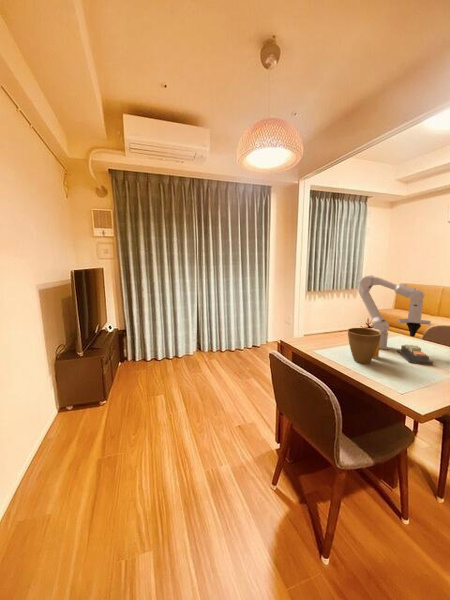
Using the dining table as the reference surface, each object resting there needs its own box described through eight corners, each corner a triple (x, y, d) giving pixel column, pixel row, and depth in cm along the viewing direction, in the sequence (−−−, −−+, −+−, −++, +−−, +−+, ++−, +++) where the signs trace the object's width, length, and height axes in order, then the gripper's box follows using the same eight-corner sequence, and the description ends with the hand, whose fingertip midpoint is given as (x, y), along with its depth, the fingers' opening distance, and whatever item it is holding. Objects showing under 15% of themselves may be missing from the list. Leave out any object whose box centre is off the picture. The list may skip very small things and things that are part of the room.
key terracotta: (415, 359, 124) (416, 353, 124) (412, 356, 128) (413, 351, 128) (425, 360, 123) (426, 354, 123) (421, 357, 127) (422, 351, 127)
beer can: (380, 358, 130) (382, 331, 127) (367, 358, 131) (370, 331, 129) (375, 354, 136) (378, 328, 133) (363, 353, 137) (366, 328, 134)
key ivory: (407, 352, 134) (407, 346, 134) (404, 349, 138) (404, 344, 138) (415, 352, 133) (416, 347, 133) (412, 350, 137) (412, 345, 136)
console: (409, 362, 125) (410, 355, 124) (396, 351, 140) (397, 345, 139) (432, 365, 122) (433, 357, 121) (417, 353, 137) (418, 346, 137)
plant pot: (372, 356, 133) (375, 328, 130) (382, 368, 119) (385, 336, 116) (342, 354, 137) (345, 326, 134) (348, 365, 123) (351, 334, 120)
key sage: (411, 353, 129) (412, 347, 129) (408, 350, 133) (409, 345, 132) (420, 354, 128) (421, 348, 128) (416, 351, 132) (417, 345, 131)
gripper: (402, 313, 132) (399, 337, 134) (434, 314, 128) (431, 339, 130) (397, 310, 139) (395, 333, 141) (428, 311, 134) (425, 335, 137)
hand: (412, 336), depth 136 cm, fingers closed
